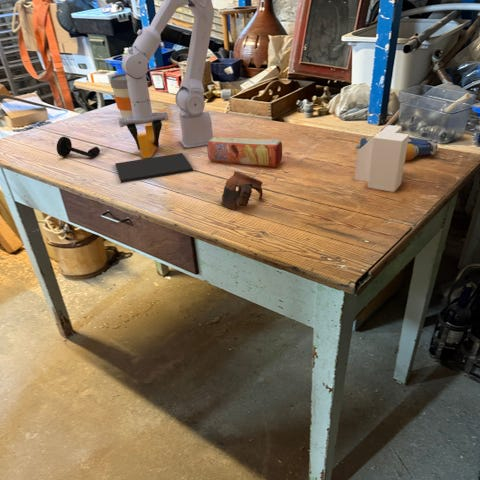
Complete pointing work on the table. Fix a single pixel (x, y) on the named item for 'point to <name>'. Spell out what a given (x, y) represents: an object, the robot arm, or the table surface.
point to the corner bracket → (383, 159)
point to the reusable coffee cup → (121, 94)
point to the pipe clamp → (147, 142)
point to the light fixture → (66, 147)
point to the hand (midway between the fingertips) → (148, 147)
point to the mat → (153, 167)
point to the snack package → (245, 151)
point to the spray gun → (412, 146)
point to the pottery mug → (240, 190)
